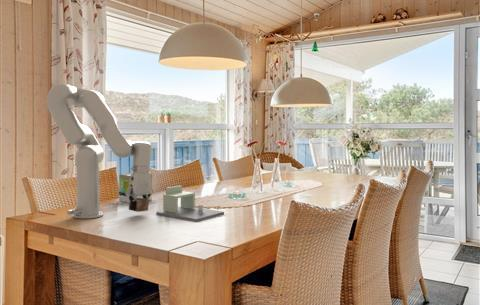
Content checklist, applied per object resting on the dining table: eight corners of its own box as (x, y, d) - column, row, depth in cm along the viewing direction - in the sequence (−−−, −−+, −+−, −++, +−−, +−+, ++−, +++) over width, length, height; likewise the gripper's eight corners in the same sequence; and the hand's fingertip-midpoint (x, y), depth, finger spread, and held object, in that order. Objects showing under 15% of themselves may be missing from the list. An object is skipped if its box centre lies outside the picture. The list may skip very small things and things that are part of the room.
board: (196, 221, 176) (196, 209, 176) (156, 214, 190) (156, 203, 189) (224, 214, 193) (224, 203, 192) (185, 208, 206) (185, 197, 206)
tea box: (130, 203, 216) (130, 175, 215) (118, 201, 222) (118, 174, 221) (152, 200, 228) (152, 173, 227) (140, 198, 234) (140, 172, 233)
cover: (175, 212, 187) (176, 189, 187) (163, 210, 192) (163, 188, 191) (194, 208, 198) (195, 186, 198) (182, 206, 203) (182, 185, 202)
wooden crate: (137, 211, 182) (138, 200, 182) (128, 209, 185) (129, 198, 185) (148, 210, 187) (148, 199, 187) (138, 208, 190) (139, 197, 190)
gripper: (131, 171, 176) (129, 212, 177) (160, 169, 190) (158, 208, 191) (120, 169, 180) (117, 209, 181) (149, 167, 194) (146, 205, 195)
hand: (138, 208), depth 186 cm, fingers closed on wooden crate, 6 cm apart
